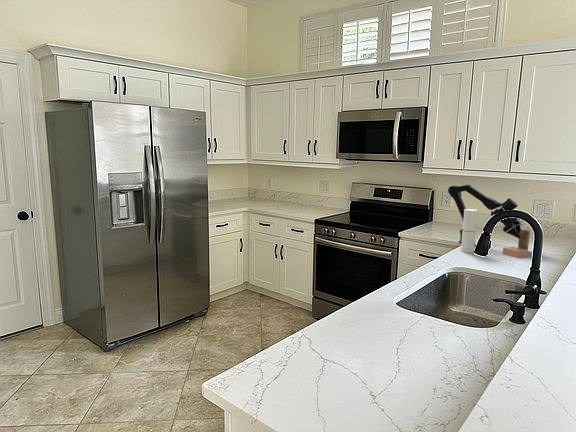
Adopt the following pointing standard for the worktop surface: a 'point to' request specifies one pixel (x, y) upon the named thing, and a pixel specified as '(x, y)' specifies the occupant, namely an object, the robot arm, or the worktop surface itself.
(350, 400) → the worktop surface
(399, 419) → the worktop surface
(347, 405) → the worktop surface
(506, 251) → the terracotta riser
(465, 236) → the cylindrical container
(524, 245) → the walnut block
